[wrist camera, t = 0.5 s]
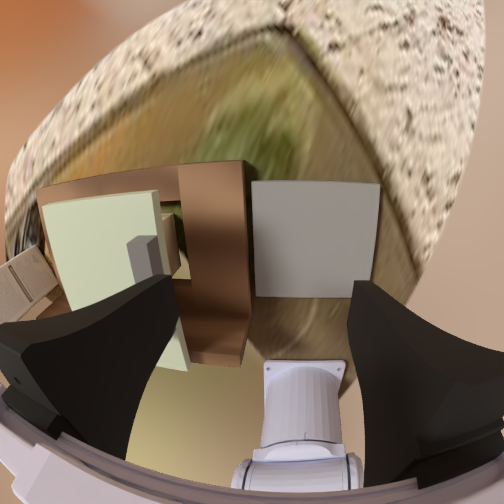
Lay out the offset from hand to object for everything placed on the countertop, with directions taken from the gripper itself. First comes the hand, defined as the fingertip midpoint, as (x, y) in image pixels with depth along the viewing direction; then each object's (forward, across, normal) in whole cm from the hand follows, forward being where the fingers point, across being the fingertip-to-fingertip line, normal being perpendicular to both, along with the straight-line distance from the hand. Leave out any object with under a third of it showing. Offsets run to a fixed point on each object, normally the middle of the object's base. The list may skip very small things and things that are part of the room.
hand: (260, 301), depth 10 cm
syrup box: (+10, +28, +6) cm, 30 cm away
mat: (+10, -3, +1) cm, 11 cm away
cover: (+4, +10, +2) cm, 11 cm away
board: (+10, +12, +2) cm, 16 cm away
